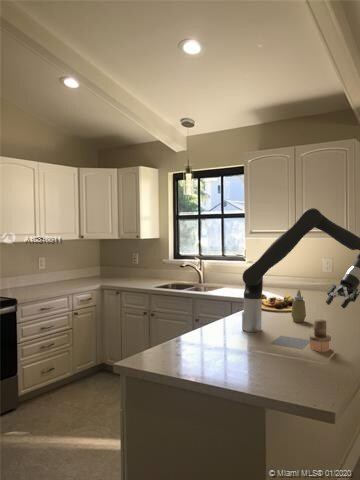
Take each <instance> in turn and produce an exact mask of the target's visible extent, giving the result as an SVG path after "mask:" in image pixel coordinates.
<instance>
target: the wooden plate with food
mask: <svg viewBox="0 0 360 480" xmlns="http://www.w3.org/2000/svg"><path fill="white" fill-rule="evenodd" d="M293 300H295V298H294V297H292V296H291V295H290V294H288V293H287V294H285V295H284V296H283V299H282V298H277V297H275V296H272V297H271V296H270V297H269V298H267V296H266V295H265V294H264V293H262V311H263V312H270V313H292V304H293Z"/></svg>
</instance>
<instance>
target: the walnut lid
mask: <svg viewBox="0 0 360 480" xmlns="http://www.w3.org/2000/svg"><path fill="white" fill-rule="evenodd" d="M313 322H314V333H310V334H309V340H310V339H311V340H314V341H320V342H327V341H330V342H331V341H332V336H331V335H329V334H327V320H325V319H314V321H313Z"/></svg>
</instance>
